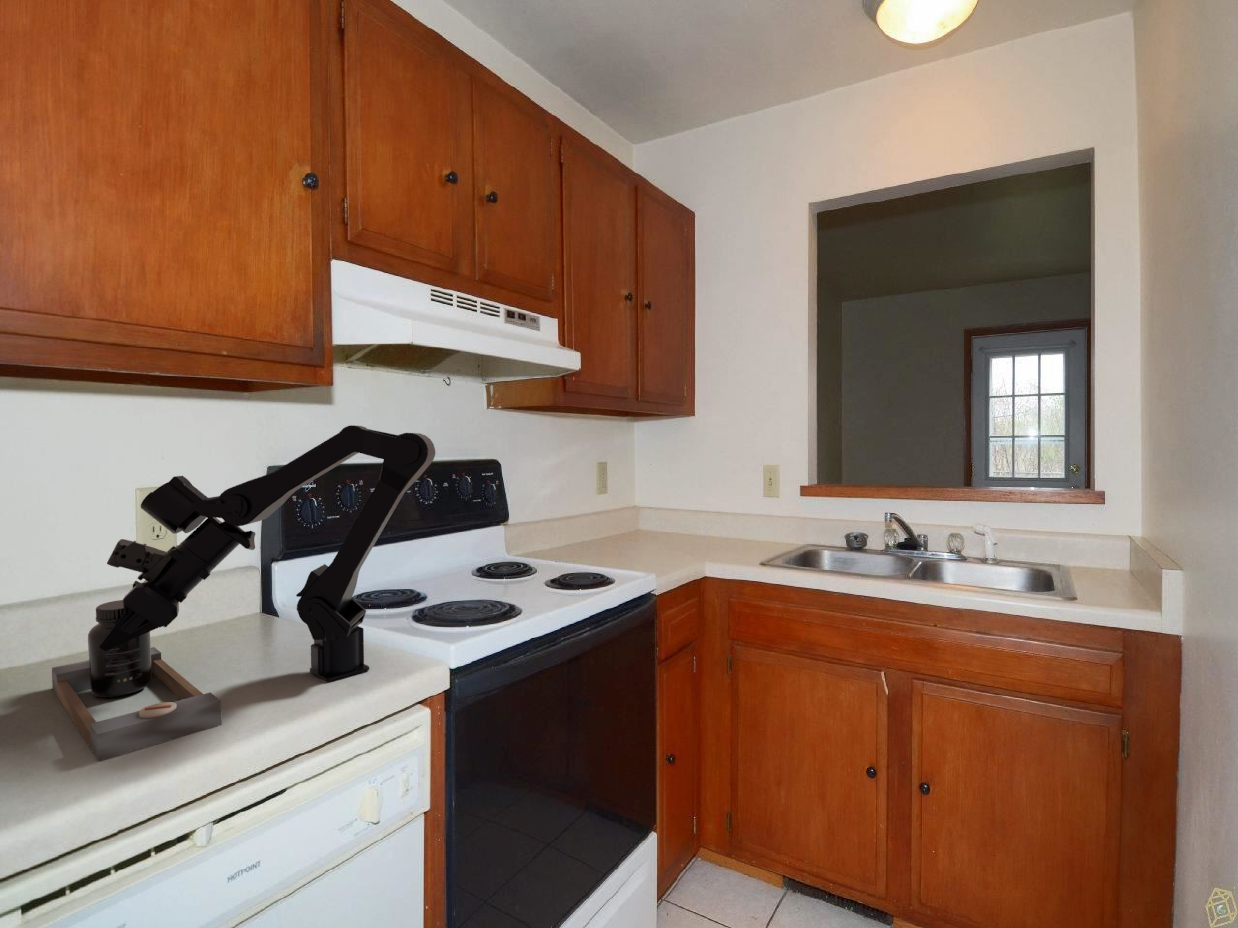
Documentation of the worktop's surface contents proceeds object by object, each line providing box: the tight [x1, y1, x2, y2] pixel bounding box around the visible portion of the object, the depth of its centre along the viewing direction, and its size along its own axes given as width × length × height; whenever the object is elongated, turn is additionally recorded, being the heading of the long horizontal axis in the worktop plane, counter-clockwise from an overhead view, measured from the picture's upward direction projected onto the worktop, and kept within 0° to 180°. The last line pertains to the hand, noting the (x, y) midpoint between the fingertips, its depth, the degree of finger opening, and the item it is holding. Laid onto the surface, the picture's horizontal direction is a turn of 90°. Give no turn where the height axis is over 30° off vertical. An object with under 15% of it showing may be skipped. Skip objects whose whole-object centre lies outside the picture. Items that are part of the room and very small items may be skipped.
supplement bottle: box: [87, 599, 153, 698], centre depth 89 cm, size 7×7×12 cm
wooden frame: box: [51, 646, 222, 762], centre depth 85 cm, size 12×31×4 cm, turn 49°
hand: (106, 642), depth 88 cm, fingers closed on supplement bottle, 7 cm apart
